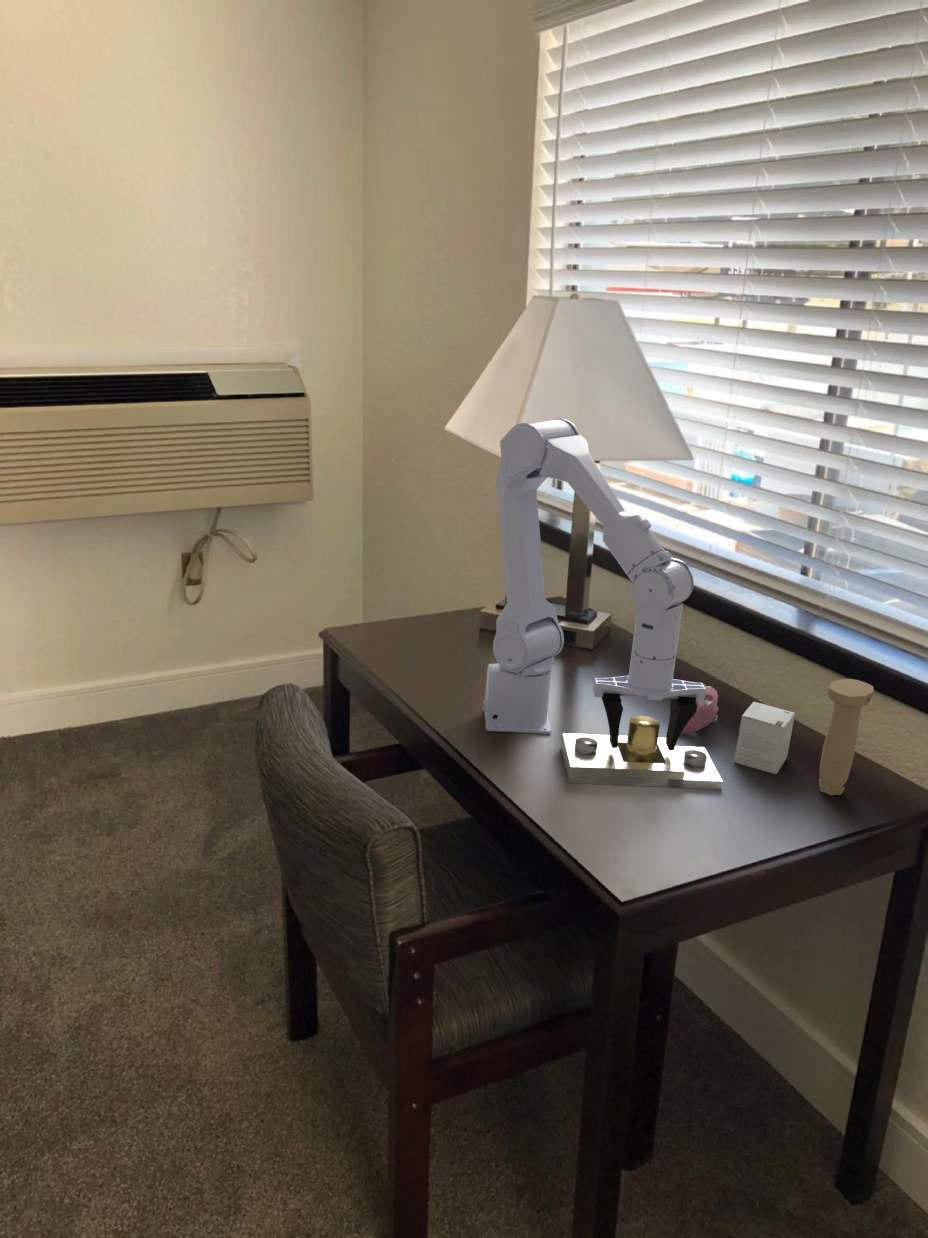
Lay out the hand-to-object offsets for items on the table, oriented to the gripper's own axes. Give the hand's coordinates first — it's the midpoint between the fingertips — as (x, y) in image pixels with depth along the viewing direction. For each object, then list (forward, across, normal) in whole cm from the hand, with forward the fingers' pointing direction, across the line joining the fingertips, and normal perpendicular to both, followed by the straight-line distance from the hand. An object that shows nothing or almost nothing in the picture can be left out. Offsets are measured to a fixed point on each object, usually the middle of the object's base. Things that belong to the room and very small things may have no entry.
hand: (641, 746), depth 134 cm
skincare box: (+4, +18, +4) cm, 19 cm away
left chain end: (+3, -3, 0) cm, 4 cm away
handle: (+4, +25, -4) cm, 26 cm away
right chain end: (+3, +3, 0) cm, 4 cm away
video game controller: (+4, +11, +15) cm, 19 cm away
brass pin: (+3, 0, 0) cm, 3 cm away
